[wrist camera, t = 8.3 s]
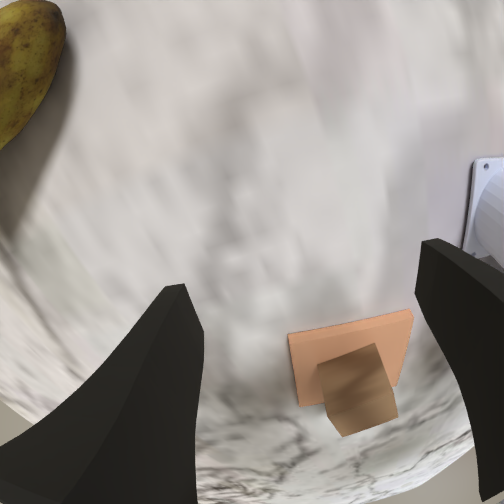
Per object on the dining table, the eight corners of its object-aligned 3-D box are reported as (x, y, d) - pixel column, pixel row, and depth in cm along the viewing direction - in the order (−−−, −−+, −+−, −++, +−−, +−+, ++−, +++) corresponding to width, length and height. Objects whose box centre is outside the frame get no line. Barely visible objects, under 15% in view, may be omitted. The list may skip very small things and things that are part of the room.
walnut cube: (374, 342, 23) (393, 392, 19) (383, 372, 26) (398, 417, 21) (316, 364, 24) (327, 416, 20) (332, 391, 27) (342, 437, 22)
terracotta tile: (409, 308, 23) (414, 317, 22) (393, 378, 28) (396, 385, 27) (287, 334, 23) (289, 343, 23) (298, 398, 29) (299, 407, 28)
